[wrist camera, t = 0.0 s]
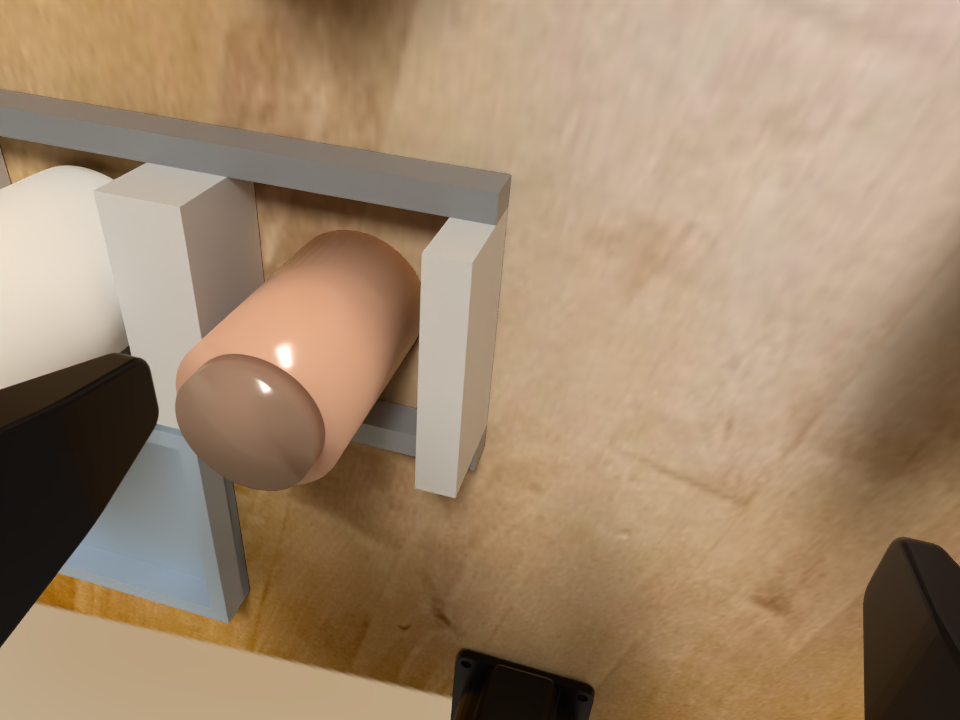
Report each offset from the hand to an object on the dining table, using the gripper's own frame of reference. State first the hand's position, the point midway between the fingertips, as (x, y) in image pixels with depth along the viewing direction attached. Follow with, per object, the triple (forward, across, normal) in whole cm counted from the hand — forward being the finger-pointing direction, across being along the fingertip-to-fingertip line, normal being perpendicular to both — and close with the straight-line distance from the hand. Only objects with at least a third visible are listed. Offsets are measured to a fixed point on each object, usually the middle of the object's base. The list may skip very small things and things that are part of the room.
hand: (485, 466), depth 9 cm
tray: (+15, +20, +20) cm, 32 cm away
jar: (+15, +8, +7) cm, 18 cm away
